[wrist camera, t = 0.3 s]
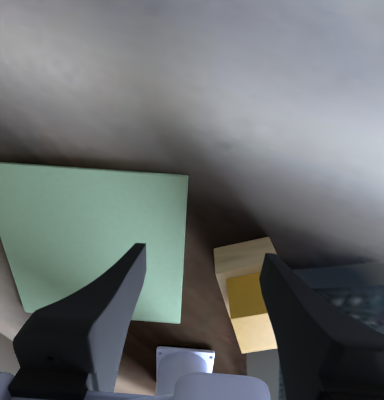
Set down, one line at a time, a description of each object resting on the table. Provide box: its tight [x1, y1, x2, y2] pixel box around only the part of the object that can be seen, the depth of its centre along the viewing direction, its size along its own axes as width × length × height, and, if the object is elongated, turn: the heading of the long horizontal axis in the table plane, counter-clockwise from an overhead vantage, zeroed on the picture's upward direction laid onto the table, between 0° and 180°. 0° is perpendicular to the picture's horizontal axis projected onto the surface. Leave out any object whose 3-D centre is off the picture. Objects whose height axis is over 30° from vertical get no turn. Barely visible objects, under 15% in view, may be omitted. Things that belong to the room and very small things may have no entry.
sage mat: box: [0, 162, 188, 324], centre depth 27 cm, size 20×20×1 cm
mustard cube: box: [226, 272, 277, 353], centre depth 22 cm, size 4×4×4 cm
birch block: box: [214, 237, 276, 317], centre depth 25 cm, size 6×6×4 cm
